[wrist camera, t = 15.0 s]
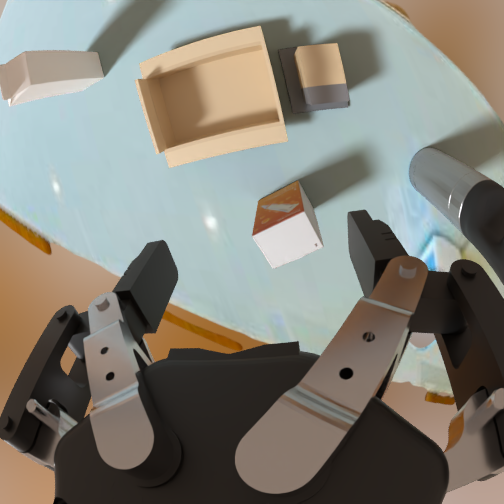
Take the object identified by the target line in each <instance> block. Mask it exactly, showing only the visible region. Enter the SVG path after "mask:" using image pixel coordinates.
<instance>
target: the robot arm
mask: <svg viewBox="0 0 504 504" xmlns="http://www.w3.org/2000/svg"><path fill="white" fill-rule="evenodd" d="M409 177H410V181H411V183H412V185H413V187H414V188H415V189H416V190H417V191H418V192H419V193H420V194H421V195H423V196H424V197H425V198H426V199H427V200H428V201H429V202H430V203H431V204H432V205H434V206H435V207H436V208H437V209H438V210H439V211H440V212H441V213H442V214H443V215H444V216H445V217H446V218H447V219H448V220H449V221H450V222H451V223H452V224H453V225H454V226H455V227H457V229H458V230H459V231H460V232H461V233H462V234H463V235H464V236H465V237H466V238H467V239H468V240H469V241H470V242H471V243H472V244H473V245H474V246H475V247H476V248H477V249H478V251H479V252H480V253H481V254H482V255H483V256H484V258H485V259H486V260H487V262H488V263H489V264H490V266H491V267H492V268H493V270H494V271H495V273H496V274H497V276H498V277H499V279H500V280H501V282H502V283H503V285H504V188H503V187H502V186H501V185H499V184H498V183H496V182H495V181H493V180H491V179H490V178H488V177H487V176H485V175H483V174H482V173H480V172H478V171H476V170H475V169H473V168H471V167H470V166H468V165H466V164H464V163H462V162H461V161H459V160H457V159H455V158H453V157H451V156H449V155H447V154H445V153H443V152H441V151H439V150H437V149H435V148H425V149H422V150H420V151H419V152H418V153H417V154H416V155H415V156H414V157H413V159H412V161H411V164H410V168H409ZM348 244H349V253H350V258H351V261H352V263H353V266H354V269H355V271H356V274H357V277H358V280H359V282H360V285H361V288H362V291H363V294H364V296H365V297H364V296H363V297H361V298H360V299H359V301H358V302H357V304H356V305H355V307H354V308H353V310H352V311H351V313H350V314H349V316H348V317H347V319H346V320H345V322H344V323H343V325H342V326H341V328H340V329H339V331H338V332H337V334H336V335H335V336H334V338H333V339H332V341H331V342H330V343H329V345H328V346H327V347H326V349H325V350H324V352H323V353H322V354H321V356H320V355H317V354H313V353H309V352H302V351H300V348H299V341H297V342H288V343H278V344H267V345H262V346H258V347H255V348H252V349H247V350H244V351H240V352H236V353H232V354H225V353H219V352H214V351H209V350H204V349H200V348H189V349H188V348H184V349H170V351H169V354H168V357H167V358H166V359H162V360H160V361H157V362H155V361H154V359H153V357H152V355H151V353H150V350H149V348H148V345H147V343H146V341H145V339H144V338H143V335H144V333H156V331H157V328H158V326H159V324H160V321H161V319H162V316H163V314H164V311H165V309H166V306H167V304H168V302H169V300H170V297H171V295H172V293H173V290H174V288H175V286H176V283H177V281H178V270H177V267H176V265H175V262H174V260H173V258H172V255H171V253H170V250H169V248H168V245H167V243H166V242H165V241H164V240H160V241H155V242H149V243H147V245H146V246H145V247H144V249H143V250H142V252H141V253H140V255H139V256H138V257H137V258H136V259H134V260H133V261H132V263H131V264H130V265H129V267H128V268H127V269H128V270H126V271H125V273H124V276H122V277H121V279H120V281H119V282H118V283H117V285H116V287H115V288H114V290H113V291H112V292H107V293H104V294H101V295H100V296H98V297H97V298H95V299H94V300H93V301H92V303H91V304H90V305H89V308H88V311H86V312H83V313H80V314H78V312H77V311H76V310H75V308H74V307H73V306H72V305H68V306H65V307H63V308H61V309H60V310H59V311H57V312H56V313H55V315H54V316H53V318H52V319H51V320H50V322H49V324H48V325H47V327H46V329H45V330H44V332H43V334H42V335H41V337H40V338H39V340H38V342H37V344H36V345H35V347H34V349H33V351H32V352H31V354H30V356H29V358H28V360H27V362H26V363H25V365H24V367H23V369H22V371H21V373H20V375H19V377H18V379H17V381H16V383H15V385H14V388H13V389H12V391H11V394H10V396H9V398H8V400H7V403H6V405H5V407H4V410H3V412H2V414H1V417H0V438H1V439H3V440H4V441H5V442H6V443H8V444H9V445H11V446H12V447H14V448H15V449H17V450H18V451H19V452H20V453H22V454H23V455H25V456H27V457H28V458H30V459H31V460H33V461H35V462H37V463H38V464H40V465H43V466H45V467H47V468H49V469H51V470H53V471H54V472H55V499H54V503H53V504H442V501H443V499H444V497H445V494H446V493H447V492H450V491H452V490H455V489H457V488H460V487H462V486H465V485H467V484H469V483H472V482H474V481H476V480H477V481H485V480H487V479H490V478H492V477H494V476H496V475H498V474H500V473H502V472H504V299H503V297H502V296H501V294H500V292H499V291H498V289H497V288H496V286H495V285H494V283H493V282H492V280H491V279H490V278H489V276H488V275H487V273H486V272H485V270H484V269H483V268H482V267H481V266H480V265H479V264H477V263H475V262H473V261H470V260H466V259H461V260H457V261H455V262H453V263H452V265H451V267H450V272H436V271H429V270H428V267H427V265H426V264H425V263H424V262H423V261H422V260H420V259H418V258H416V257H413V256H409V255H408V254H407V252H406V251H405V249H404V248H403V246H402V245H401V243H400V242H399V240H398V239H397V237H396V236H395V234H394V233H393V232H392V230H391V229H390V227H389V226H388V225H387V224H385V223H384V222H382V221H380V220H372V218H371V217H370V215H369V214H368V212H367V211H366V210H359V211H351V212H348ZM413 332H419V333H434V335H435V338H436V341H437V344H438V346H439V349H440V352H441V355H442V358H443V361H444V364H445V367H446V370H447V373H448V377H449V380H450V384H451V387H452V391H453V394H454V398H455V402H456V406H457V409H458V412H457V413H456V414H455V416H454V417H453V418H452V420H451V422H450V425H449V429H448V436H449V437H448V444H447V447H446V449H445V451H444V452H443V451H442V449H441V448H440V447H439V446H438V445H437V444H436V443H435V442H434V441H433V440H431V439H430V438H429V437H427V436H426V435H425V434H423V433H422V432H421V431H420V430H418V429H417V428H416V427H414V426H413V425H412V424H410V423H409V422H408V421H407V420H405V419H404V418H403V417H402V416H400V415H399V414H398V413H396V412H395V411H394V410H393V409H391V408H390V407H389V406H387V405H386V404H385V403H384V402H383V401H382V399H383V397H384V395H385V393H386V391H387V389H388V387H389V385H390V383H391V381H392V379H393V376H394V374H395V372H396V370H397V368H398V365H399V363H400V361H401V359H402V357H403V354H404V352H405V350H406V348H407V345H408V343H409V341H410V338H411V336H412V333H413ZM67 346H68V347H69V348H70V349H71V350H72V351H73V352H74V354H75V355H76V356H77V358H76V360H75V362H74V364H73V366H72V368H71V371H70V373H69V375H67V374H66V373H65V372H64V371H63V370H62V368H61V365H60V360H61V357H62V356H63V354H64V351H65V350H66V348H67ZM91 396H92V401H93V409H91V411H90V414H88V415H87V416H86V417H85V418H84V416H85V413H86V410H87V407H88V404H89V401H90V399H91Z"/></svg>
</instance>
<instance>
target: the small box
mask: <svg viewBox="0 0 504 504" xmlns="http://www.w3.org/2000/svg"><path fill="white" fill-rule="evenodd" d="M252 237H253V239H254V240H255V242H256V243H257V245H258V246H259V248H260V249H261V251H262V252H263V254H264V256H265V257H266V259H267V260H268V262H269V263H270V265H271V266H272V268H273V269H274V268H277V267H279V266H282V265H284V264H287V263H289V262H291V261H294V260H297V259H299V258H301V257H303V256H305V255H307V254H309V253H312V252H314V251H316V250H318V249H320V248H323V247H324V245H323V242H322V238H321V234H320V230H319V226H318V222H317V219H316V215H315V212H314V209H313V207H312V205H311V203H310V201H309V199H308V197H307V196H306V194H305V192H304V190H303V188H302V186H301V184H300V183H299V181H296V182H294V183H292V184H290V185H288V186H286V187H284V188H282V189H280V190H279V191H277V192H275V193H273V194H271V195H269V196H267V197H265V198H262V199H260V200H259V201H258V206H257V211H256V217H255V222H254V228H253V234H252Z"/></svg>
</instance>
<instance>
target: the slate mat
mask: <svg viewBox="0 0 504 504" xmlns="http://www.w3.org/2000/svg"><path fill="white" fill-rule="evenodd" d="M297 48H298V47H294V48H286V49H280V50H278V52H279V56H280V60H281V64H282V68H283V72H284V76H285V80H286V84H287V89H288V93H289V98H290V102H291V107H292V112H293V114H295V113H302V112H309V111H317V110H326V109H335V108H346V107H348V103H347V101H343V102H333V103H324V104H315V105H310V104H306V103H304V100H303V95H302V91H301V86H300V82H299V77H298V73H297V69H296V65H295V61H294V57H293V56H294V54H295V52H296V50H297Z"/></svg>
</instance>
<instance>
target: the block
mask: <svg viewBox="0 0 504 504" xmlns="http://www.w3.org/2000/svg"><path fill="white" fill-rule="evenodd" d="M293 57H294V61H295V65H296V69H297V73H298V77H299V82H300V86H301V91H302V95H303V100H304V103H306V104H310V105H315V104H324V103H333V102H343V101H350V100H349V95H348V89H347V84H346V79H345V74H344V70H343V65H342V61H341V57H340V52H339V48H338V44H337V43H332V44H319V45H308V46H300V47H298V48H297V50H296V52H295V54H294V56H293Z"/></svg>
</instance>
